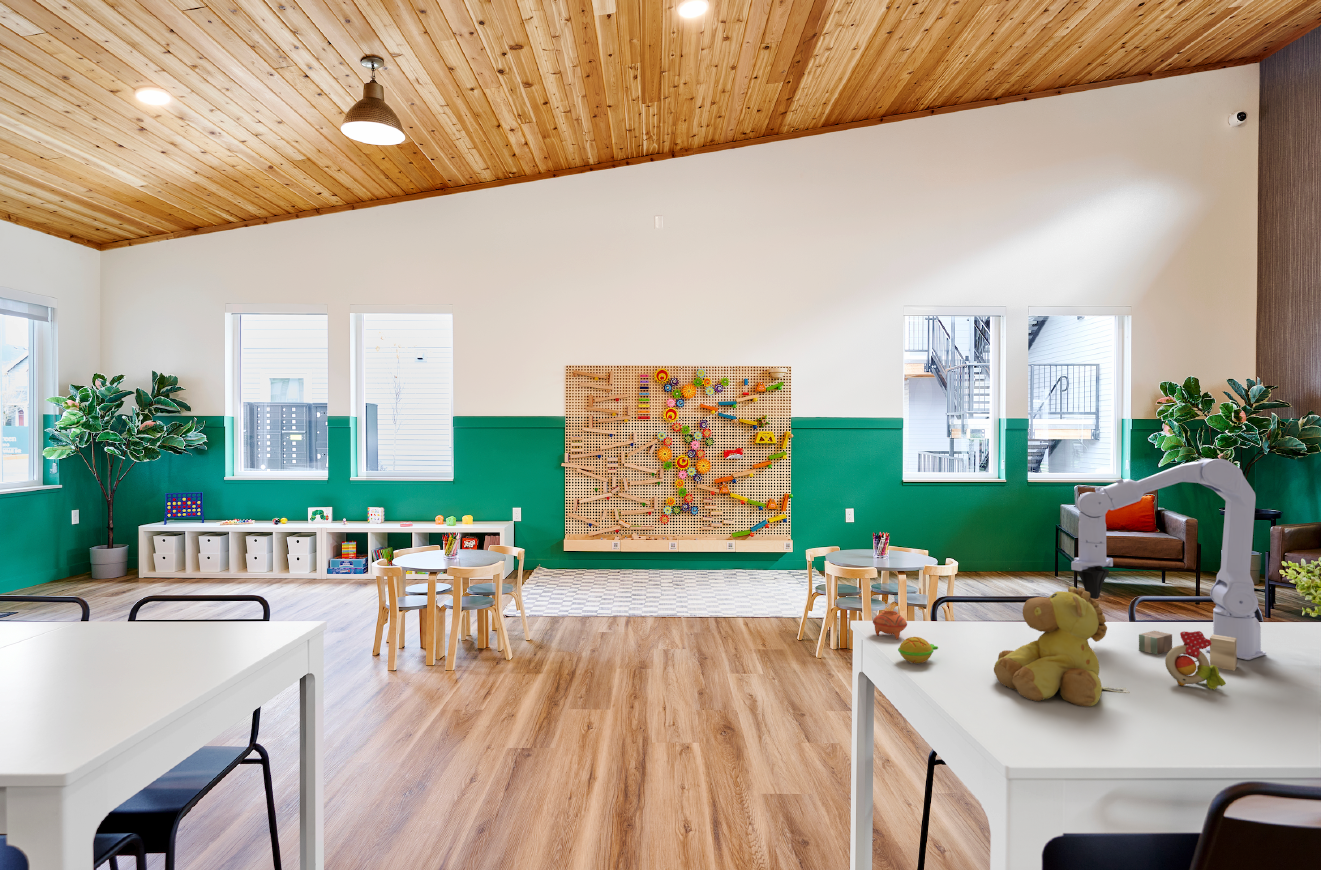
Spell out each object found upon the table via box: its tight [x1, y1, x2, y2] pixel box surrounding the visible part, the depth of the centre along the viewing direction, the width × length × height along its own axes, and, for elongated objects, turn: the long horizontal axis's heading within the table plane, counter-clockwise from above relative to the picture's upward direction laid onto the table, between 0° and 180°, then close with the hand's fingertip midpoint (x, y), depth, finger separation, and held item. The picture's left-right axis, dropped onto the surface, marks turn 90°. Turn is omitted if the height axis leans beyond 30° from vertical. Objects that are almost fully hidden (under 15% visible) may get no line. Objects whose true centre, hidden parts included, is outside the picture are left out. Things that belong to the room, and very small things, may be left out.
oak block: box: [1209, 634, 1238, 671], centre depth 146 cm, size 4×4×6 cm
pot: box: [872, 610, 908, 640], centre depth 167 cm, size 8×8×7 cm
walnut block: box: [1138, 630, 1173, 655], centre depth 157 cm, size 4×4×7 cm
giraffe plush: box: [993, 586, 1130, 708], centre depth 132 cm, size 20×24×19 cm
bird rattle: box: [1164, 630, 1227, 691], centre depth 133 cm, size 6×11×9 cm
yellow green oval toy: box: [897, 636, 939, 665], centre depth 148 cm, size 7×10×5 cm
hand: (1092, 597), depth 166 cm, fingers closed
